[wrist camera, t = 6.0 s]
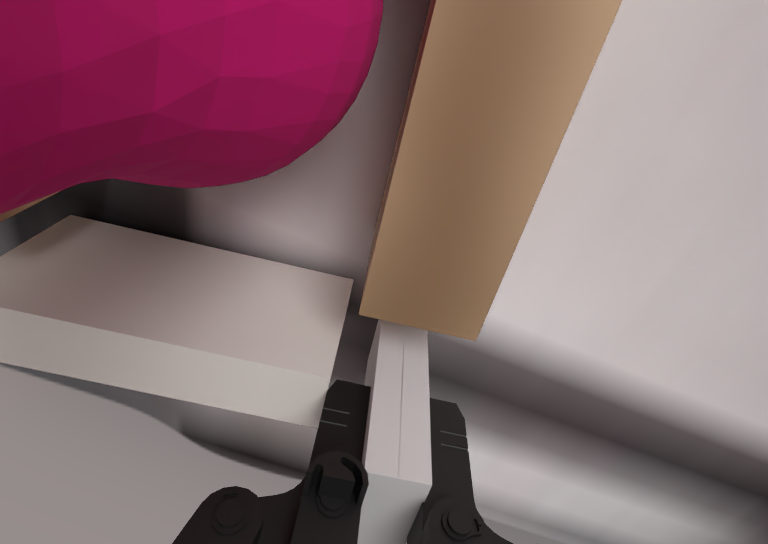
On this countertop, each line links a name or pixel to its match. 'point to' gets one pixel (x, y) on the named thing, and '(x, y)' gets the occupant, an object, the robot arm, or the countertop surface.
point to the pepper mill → (172, 88)
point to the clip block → (473, 153)
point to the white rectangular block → (172, 319)
